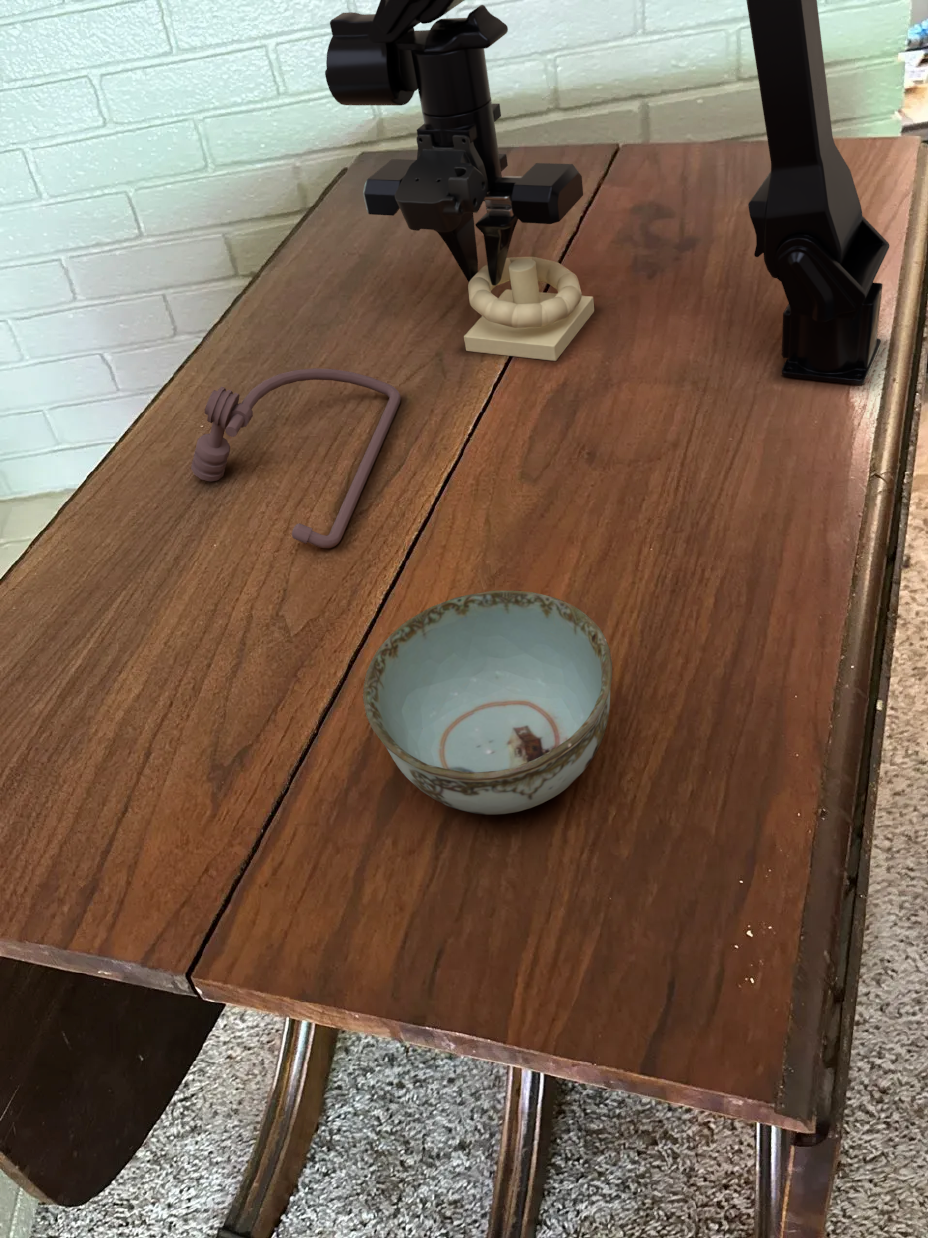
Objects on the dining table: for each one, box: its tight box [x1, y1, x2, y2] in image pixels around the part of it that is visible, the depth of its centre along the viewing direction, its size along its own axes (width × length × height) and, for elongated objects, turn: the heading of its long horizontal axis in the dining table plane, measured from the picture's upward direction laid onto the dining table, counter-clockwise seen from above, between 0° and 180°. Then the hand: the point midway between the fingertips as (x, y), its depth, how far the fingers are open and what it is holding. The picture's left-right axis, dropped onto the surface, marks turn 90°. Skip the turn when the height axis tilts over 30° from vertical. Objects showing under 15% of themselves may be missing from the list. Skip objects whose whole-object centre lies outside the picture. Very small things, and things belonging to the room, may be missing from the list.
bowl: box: [362, 590, 613, 815], centre depth 60 cm, size 14×13×8 cm
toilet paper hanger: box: [190, 367, 402, 549], centre depth 88 cm, size 22×8×14 cm
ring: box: [467, 256, 583, 328], centre depth 97 cm, size 10×10×2 cm
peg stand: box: [463, 259, 595, 362], centre depth 97 cm, size 9×9×6 cm
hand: (484, 282), depth 98 cm, fingers closed on ring, 2 cm apart
